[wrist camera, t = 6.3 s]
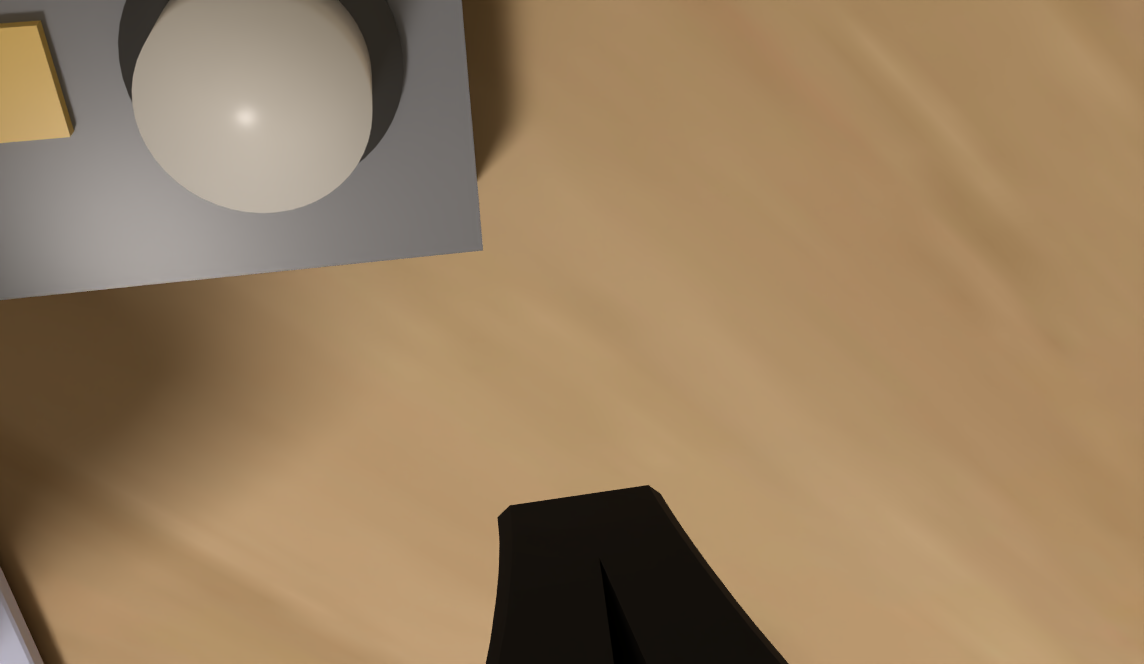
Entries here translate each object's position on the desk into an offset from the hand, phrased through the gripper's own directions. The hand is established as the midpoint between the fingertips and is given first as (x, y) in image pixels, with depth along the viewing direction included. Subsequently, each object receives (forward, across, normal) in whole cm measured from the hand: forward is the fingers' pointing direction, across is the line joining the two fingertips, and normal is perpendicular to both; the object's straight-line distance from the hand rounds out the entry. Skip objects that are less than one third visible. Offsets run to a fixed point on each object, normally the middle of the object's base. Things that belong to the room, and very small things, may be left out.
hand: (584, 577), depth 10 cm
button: (+6, +3, -3) cm, 7 cm away
